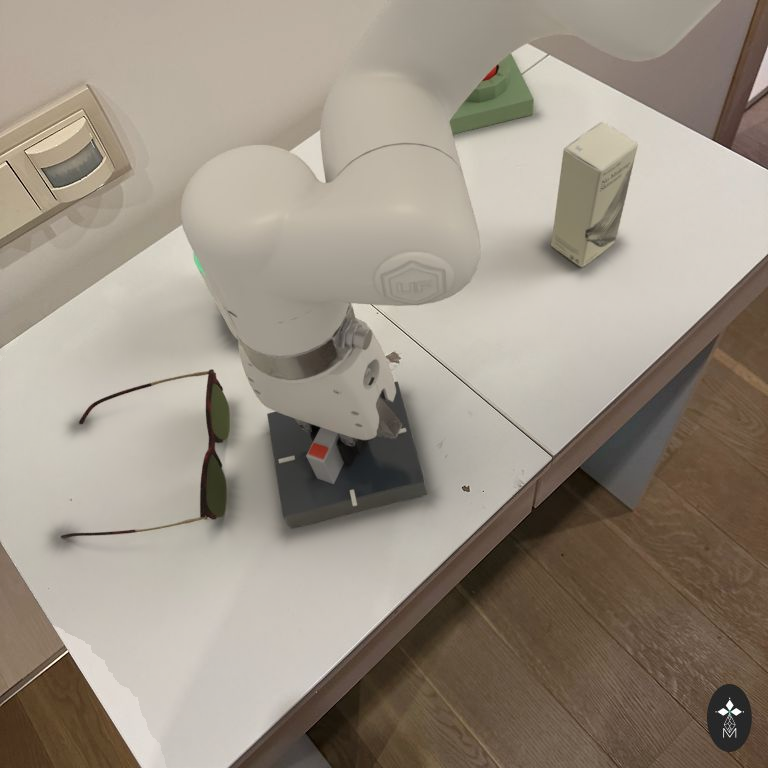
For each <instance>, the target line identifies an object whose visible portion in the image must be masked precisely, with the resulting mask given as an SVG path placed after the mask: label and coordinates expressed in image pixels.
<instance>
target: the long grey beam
mask: <svg viewBox="0 0 768 768" xmlns="http://www.w3.org/2000/svg"><path fill="white" fill-rule="evenodd" d="M339 437H340V436H339V433H337V432H334V431H331V430H328V429H325V428H322V427H321V428H320V430H319V432H318V434H317V435H316V437H315V439H314V441H313V443H312V445H311V447H310V449H309V451H308V453H307V455H306V457H307V459H308V461H309V463H310V465H311V467H312V469H313V471H314V473H315V475H316V477H317V479H320V480H323V481H326V482H329V483H331V484H334V483H335V481H336V479H337V477H338V474H339V472H340V470H341V468H342V466H343V464H344V461H343V459H342V457H341V454H340V452H339V449H338V446H337V441H338V439H339Z"/></svg>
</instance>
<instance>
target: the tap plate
mask: <svg viewBox="0 0 768 768" xmlns="http://www.w3.org/2000/svg"><path fill="white" fill-rule="evenodd" d="M394 383H395V387H396V394H395V398H394V401H393V403H392V402H389V401H386V400H383V401H384V402H385V403H386V404H387V406H388V407H389V408H390V409H391V411H392V412H393V413H394V414H395V416H396V417H397V418H398V419H399V421H400V422H401V423H402V427H401V429H400V431H399V433H398V436H397V438H396V439H389V438H383V437H378V436H377V435H376V437H374V438H372V439H369V440H368V442H367V446H366V448H365V450H364V452H363V454H362V455H358V454H357V456H356V458H355V460H354V462H353V464H352V465H351V466H350V465H347V464H345V462H344V464H343V466H342V468H341V470H340V472H339V474H338V477H337V479H336V481H335V483H334V484H331V483H329V482H326V481H323V480H320V479H317V477H316V475H315V473H314V471H313V469H312V467H311V465H310V463H309V461H308V459H307V457H306V455H307V453H308V451H309V449H310V447H311V445H312V443H313V441H312V439H311V437H310V434H311V433H310V432H307V431H305V430H303V429H301V428H300V427H299V425H298V423H297V421H296V419H295V418H292V417H289V416H286V415H284V414H281V413H278V412H276V411H272V412H268V413H267V414H266V415H267V421H268V429H269V435H270V442H271V448H272V454H273V460H274V469H275V473H276V479H277V486H278V492H279V499H280V507H281V514H282V517H283V519H284V520H285V522H286V523H287V525H288V526H289V528H290V529H296V528H300V527H305V526H308V525H313V524H316V523H319V522H325V521H328V520H333V519H336V518H339V517H345V516H348V515H353V514H355V513H360V512H363V511H367V510H372V509H376V508H380V507H384V506H388V505H393V504H396V503H400V502H405V501H408V500H411V499H416V498H420V497H424V496H427V495H428V493H427V487H426V482H425V477H424V474H423V472H422V471H423V470H422V466H421V463H420V459H419V456H418V452H417V448H416V445H415V444H416V443H415V440H414V436H413V432H412V429H411V426H410V423H409V422H410V421H409V418H408V414H407V411H406V407H405V403H404V400H403V395H402V392H401V388H400V383H399V382H398V381H394Z"/></svg>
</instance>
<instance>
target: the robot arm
mask: <svg viewBox="0 0 768 768" xmlns="http://www.w3.org/2000/svg"><path fill="white" fill-rule="evenodd" d="M721 1H723V0H387V1H386V2H385V4H384V5H383V6H382V8H381V9H380V11H378V13H377V15H376V16H375V18H374V19H373V20H372V22H371V23H370V24H369V26H368V27H367V29H366V31H365V32H364V33H363V35H362V37H361V38H360V40H359V41H358V43H357V44H356V46H354V49H353V50H352V52H351V53H350V55H349V56H348V57H347V59H346V60H345V63H344V64H343V66H342V67H341V69H340V71H339V72H338V73H337V75H336V78H335V79H334V81H333V84H332V85H331V88H330V90H329V92H328V94H327V96H326V100H325V103H324V107H323V110H322V113H321V116H320V117H321V118H320V128H319V137H320V151H321V160H322V168H323V173H324V180H325V182H322V181H321V180H319V179H318V177H317V176H316V174H315V172H314V171H313V170H312V169H311V168H310V166H309V165H308V164H307V162H305V161H304V160H303V159H302V158H301V157H300V156H298V155H297V154H295V153H293V152H291V151H289V150H287V149H285V148H282V147H279V146H274V145H268V144H252V145H243V146H240V147H239V146H238V147H235V148H231V149H229V150H226V151H223V152H222V153H220V154H217V155H216V156H213V157H212V158H211V159H209V160H207V162H205V163H204V164H203V165H202V166H200V167H199V168H198V169H197V170H196V171H195V172H194V173H193V175H192V177H191V178H190V179H189V180H188V182H187V185H186V187H185V189H184V191H183V194H182V198H181V202H180V220H181V221H180V222H181V226H182V229H183V232H184V234H185V236H186V239H187V241H188V244H189V245H190V248H191V249H192V251H193V252H194V253H195V255H196V257H197V259H198V261H199V263H200V265H201V267H202V269H203V271H204V273H205V275H206V277H207V279H208V281H209V282H210V284H211V286H212V288H213V290H214V292H215V294H216V296H217V298H218V300H219V302H220V304H221V306H222V308H223V310H224V312H225V314H226V316H227V318H228V319H229V321H230V323H231V325H232V327H233V329H234V331H235V333H236V335H237V337H238V339H237V346H238V353H239V358H240V361H241V365H242V368H243V371H244V373H245V376H246V378H247V380H248V383H249V385H250V387H251V390H252V391H253V393H254V394H255V396H256V398H257V399H258V400H259V402H260V403H261V404H262V405H263V406H264V407H265V408H268V409H269V410H272V411H273V412H278V413H281V414H284V415H286V416H289V417H292V418H295V419H296V421H297V423H298V425H299V427H300V428H301V429H303V430H305V431H307V432H310V433H311V434H310V437H311V439H312V441H314V439H315V437H316V435H317V434H318V432H319V430H320V428H321V427H322V428H325V429H328V430H331V431H334V432H337V433H339V436H340V437H339V439H338V441H337V446H338V449H339V452H340V454H341V457H342V459H343V461H344V462H345V464H347V465H350V466H351V465H352V464H353V462H354V460H355V458H356V456H357V454H358V455H362V454H363V452H364V450H365V448H366V446H367V442H368V440H369V439H372V438H374V437H376V435H377V436H378V437H383V438H389V439H396V438H397V436H398V433H399V431H400V429H401V427H402V423H401V422H400V421H399V419H398V418H397V417H396V416H395V414H394V413H393V412H392V411H391V409H390V408H389V407H388V406H387V404H386V403H385V402H384V401H383V400H386V401H389V402H392V403H393V401H394V398H395V394H396V387H395V383H394V382H395V379H394V376H393V373H392V370H391V367H390V364H389V361H388V359H387V356H386V355H385V352H384V350H383V348H382V346H381V344H380V342H379V340H378V339H377V337H376V335H375V334H374V332H373V331H372V329H371V327H369V325H368V324H367V323H366V322H365V321H363V320H362V319H359V318H357V317H356V315H355V311H354V307H353V304H359V305H373V306H391V307H393V306H394V307H400V306H401V307H403V306H408V307H409V306H422V305H427V304H434V303H437V302H440V301H444V300H446V299H448V298H451V297H453V296H455V295H456V294H458V293H460V291H462V290H463V289H465V287H467V285H468V284H469V283H471V282H472V280H473V278H474V277H475V275H476V273H477V271H478V269H479V266H480V261H481V251H482V250H481V248H482V246H481V237H480V231H479V227H478V224H477V220H476V215H475V212H474V208H473V205H472V201H471V198H470V197H471V196H470V194H469V190H468V186H467V183H466V180H465V179H466V178H465V176H464V172H463V168H462V164H461V160H460V157H459V153H458V149H457V146H456V141H455V138H454V134H452V130H451V126H450V122H449V121H450V120H451V118H452V117H453V115H454V114H455V113H456V111H457V110H458V109H459V107H460V106H461V105H462V104H463V103H464V101H465V100H466V99H467V98H468V97H469V95H470V94H471V93H472V92H473V91H474V89H475V88H476V87H477V86H478V85H479V84H480V82H481V81H482V80H483V79H484V78H485V77H486V76H487V74H488V73H489V72H490V71H491V70H492V69H493V68H494V67H495V66H496V65H497V64H498V63H500V62H501V61H502V60H503V59H504V58H506V57H507V56H508V55H509V54H512V53H514V52H516V51H517V50H519V49H520V48H522V47H523V46H525V45H527V44H530V43H532V42H534V41H537V40H539V39H543V38H547V37H551V36H562V35H563V36H565V35H567V36H575V37H576V38H578V39H580V40H581V41H583V42H585V43H587V44H588V45H589V46H591V47H594V48H595V49H597V50H599V51H601V52H603V53H605V54H607V55H609V56H612V57H614V58H617V59H620V60H624V61H631V62H635V63H636V62H637V63H640V62H646V61H653V60H655V59H657V58H660V57H662V56H665V54H668V52H670V51H671V50H672V49H673V48H675V47H676V46H677V45H678V44H679V43H680V42H681V41H682V40H683V39H684V38H685V37H686V36H688V35H689V34H690V32H691V31H692V30H693V29H694V28H695V27H696V26H697V25H698V24H699V23H700V22H701V21H702V20H703V19H704V18H705V17H706V16H708V14H709V13H711V12H712V10H714V8H716V7H717V5H718V4H720V3H721Z"/></svg>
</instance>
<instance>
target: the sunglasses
mask: <svg viewBox="0 0 768 768" xmlns="http://www.w3.org/2000/svg"><path fill="white" fill-rule="evenodd" d="M206 375H207V382H206V391H205V421H206V422H205V423H206V430H207V435H208V447H207V450H206V452H205V454H204V457H203V462H202V466H201V475H200V486H199V487H200V492H199V517H195V518H189V519H185V520H182V521H178V522H176V523H171V524H166V525H160V526H156V527H150V528H142V529H141V528H139V529H127V530H115V531H100V532H99V531H98V532H73V533H66V534H62V535H61V536H60V538H61V539H68V538H72V537H89V536H93V537H95V536H113V535H124V534H134V533H142V532H148V531H154V530H161V529H167V528H171V527H176V526H181V525H185V524H191V523H194V522H195V523H196V522H199V521H202V520H204V521H206V520H208V518H209V519H211V520H217V519H221V518H223V517H224V516H225V514H226V510H227V500H228V499H227V497H228V490H227V489H228V487H227V479H226V475H225V473H224V469H223V463H222V461H221V458H220V457H219V455H218V453H217V451H216V444H222V443H224V442H225V441H226V440H227V439H228V438H229V435H230V428H231V427H230V426H231V416H230V415H231V413H230V406H229V402H228V399H227V397H226V395H225V393H224V388H223V386H222V385H221V383H220V381H219V380H218V378H217V373H216V372H215V370H214V369H212V368H210V369H209V370H206V371H197V372H193V373H188V374H183V375H178V376H173V377H169V378H165V379H161V380H156V381H152V382H149V383H146V384H141V385H137V386H135V387H134V386H133V387H131V388H127V389H124V390H121V391H118V392H115V393H113V394H110V395H108V396H105V397H102V398H100V399H98V400H96V401H94V402H93V403H91V404H90V405H89V406H88V407H87V408H86V410H85V412H84V413H82V414H83V415H82V416H81V418H80V419H79V421H78V424H79V425H80V424H81V425H83V423H85V420H86V419H87V418H88V416H89V414H90V413H91V412H92V411H93V409H94V408H95V407H97V406H98V405H100V404H103V403H104V402H107V401H109V400H113V399H115V398H117V397H120V396H123V395H126V394H130V393H133V392H135V391H139V390H143V389H147V388H150V387H153V386H156V385H159V384H162V383H166V382H171V381H175V380H180V379H186V378H191V377H192V378H193V377H200V376H201V377H202V376H206Z"/></svg>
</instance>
